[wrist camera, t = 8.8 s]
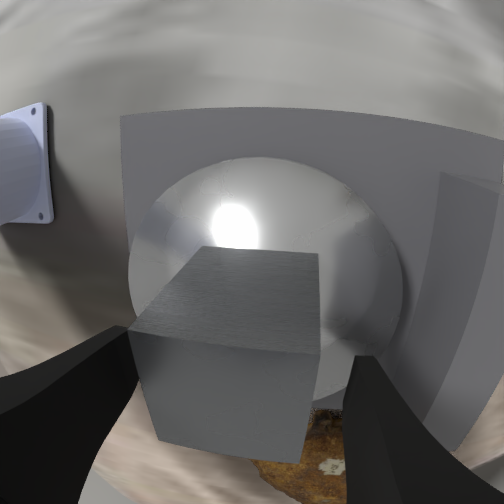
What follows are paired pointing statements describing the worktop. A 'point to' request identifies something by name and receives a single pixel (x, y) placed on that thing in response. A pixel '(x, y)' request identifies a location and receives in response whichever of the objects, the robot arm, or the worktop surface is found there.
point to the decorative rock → (313, 465)
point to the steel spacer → (233, 352)
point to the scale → (393, 219)
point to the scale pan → (282, 247)
